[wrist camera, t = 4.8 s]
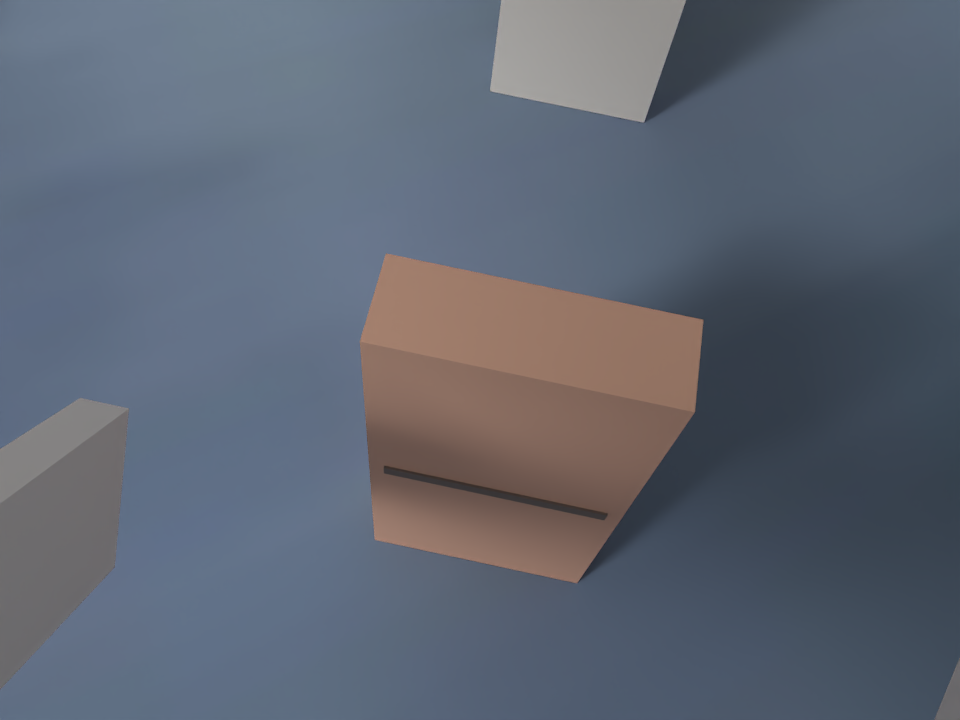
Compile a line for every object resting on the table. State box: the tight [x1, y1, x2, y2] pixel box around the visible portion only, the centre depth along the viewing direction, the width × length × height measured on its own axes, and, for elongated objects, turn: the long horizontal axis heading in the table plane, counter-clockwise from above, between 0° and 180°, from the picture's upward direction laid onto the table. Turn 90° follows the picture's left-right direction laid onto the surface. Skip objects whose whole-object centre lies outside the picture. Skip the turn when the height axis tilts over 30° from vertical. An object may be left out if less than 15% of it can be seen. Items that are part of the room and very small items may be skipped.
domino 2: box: [360, 254, 703, 583], centre depth 18 cm, size 2×5×10 cm, turn 79°
